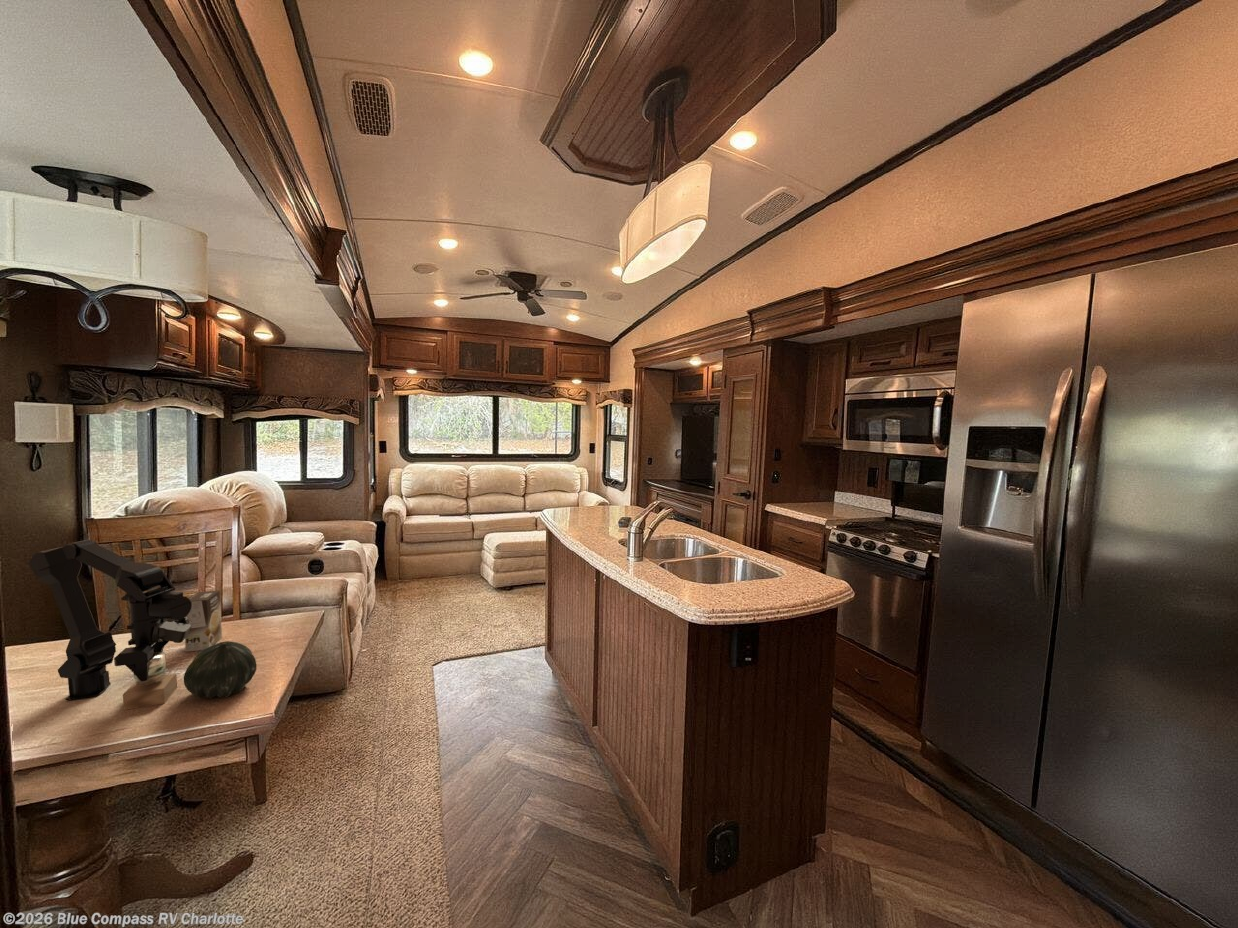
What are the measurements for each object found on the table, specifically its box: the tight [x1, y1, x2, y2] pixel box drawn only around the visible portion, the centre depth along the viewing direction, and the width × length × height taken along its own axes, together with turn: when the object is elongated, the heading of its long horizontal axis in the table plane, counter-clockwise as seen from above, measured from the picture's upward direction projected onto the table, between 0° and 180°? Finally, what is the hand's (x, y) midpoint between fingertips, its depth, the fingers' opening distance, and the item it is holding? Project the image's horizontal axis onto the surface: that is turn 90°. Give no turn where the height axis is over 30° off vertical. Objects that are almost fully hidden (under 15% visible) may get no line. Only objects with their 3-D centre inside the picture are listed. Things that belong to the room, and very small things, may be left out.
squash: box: [183, 640, 258, 699], centre depth 134 cm, size 14×15×15 cm
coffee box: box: [184, 590, 223, 652], centre depth 160 cm, size 9×6×16 cm
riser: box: [122, 673, 178, 711], centre depth 131 cm, size 8×8×4 cm
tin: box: [133, 652, 167, 686], centre depth 130 cm, size 6×6×6 cm
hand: (149, 674), depth 130 cm, fingers closed on tin, 6 cm apart
